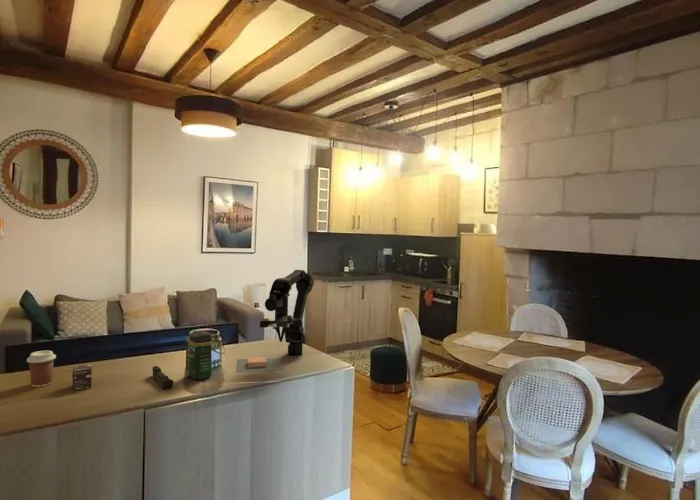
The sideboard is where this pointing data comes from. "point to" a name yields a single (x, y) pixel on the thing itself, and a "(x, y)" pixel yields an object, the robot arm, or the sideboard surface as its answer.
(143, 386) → the sideboard surface
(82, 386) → the box
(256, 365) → the tile
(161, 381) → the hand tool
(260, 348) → the sideboard surface
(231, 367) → the sideboard surface
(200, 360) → the coffee jar
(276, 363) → the mat
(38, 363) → the coffee cup
